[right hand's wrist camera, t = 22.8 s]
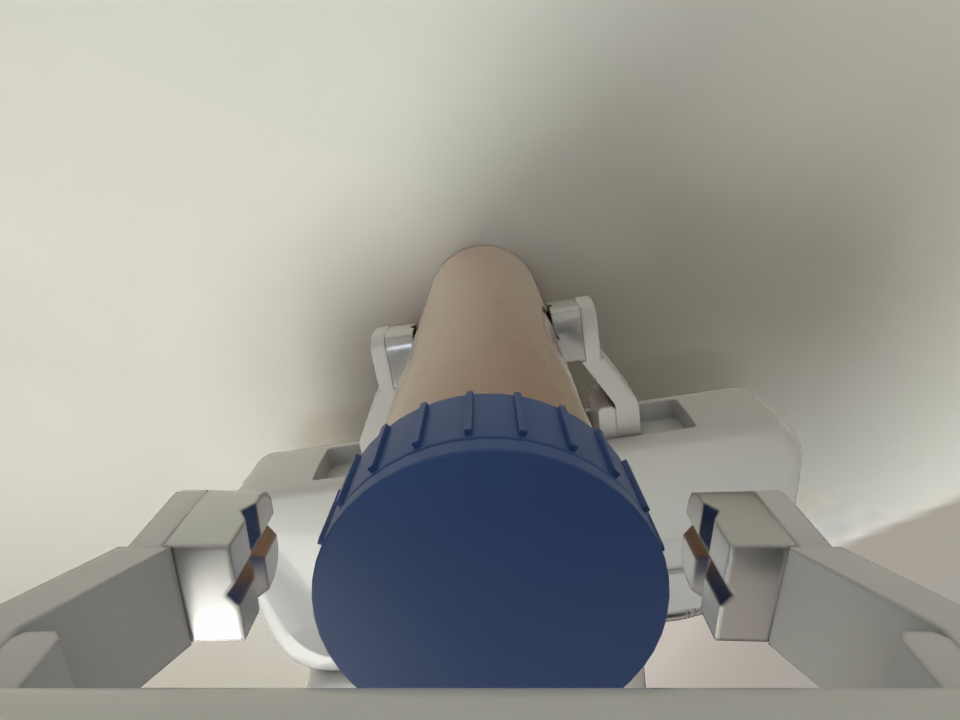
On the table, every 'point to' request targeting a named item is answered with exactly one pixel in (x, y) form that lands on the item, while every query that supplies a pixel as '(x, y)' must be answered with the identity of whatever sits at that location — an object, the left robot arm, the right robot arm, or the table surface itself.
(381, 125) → the table surface
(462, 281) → the jar
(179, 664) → the table surface
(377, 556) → the lid
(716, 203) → the table surface
